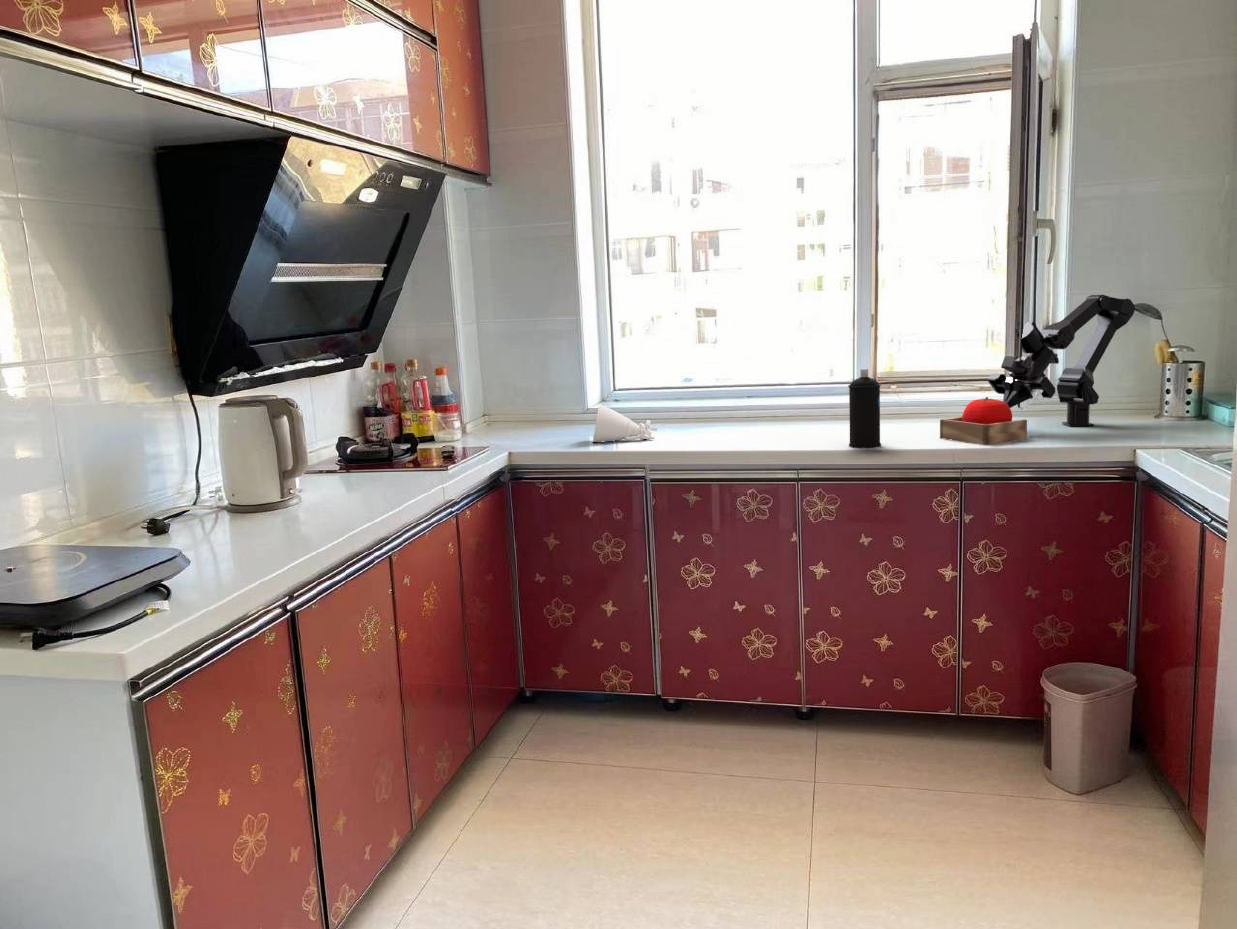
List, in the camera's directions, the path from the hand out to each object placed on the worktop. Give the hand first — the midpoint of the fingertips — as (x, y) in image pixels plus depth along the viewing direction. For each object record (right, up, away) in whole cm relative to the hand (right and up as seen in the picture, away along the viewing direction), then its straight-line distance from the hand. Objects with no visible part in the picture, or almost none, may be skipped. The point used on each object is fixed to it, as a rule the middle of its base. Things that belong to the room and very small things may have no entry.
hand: (1003, 409), depth 256 cm
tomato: (-5, -8, -1) cm, 9 cm away
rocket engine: (-101, -8, +26) cm, 104 cm away
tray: (-6, -8, -2) cm, 10 cm away
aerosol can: (-38, -10, -3) cm, 39 cm away
